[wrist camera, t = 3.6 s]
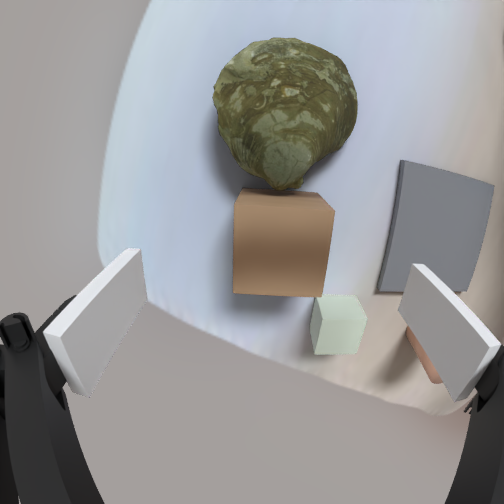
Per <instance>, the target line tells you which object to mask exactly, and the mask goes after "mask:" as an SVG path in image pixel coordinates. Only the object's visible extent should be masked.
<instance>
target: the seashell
mask: <svg viewBox="0 0 504 504" xmlns="http://www.w3.org/2000/svg"><path fill="white" fill-rule="evenodd" d="M214 90H215V91H214V93H213V97H212V98H213V101H214V105H215V107H216V109H217V112H218V124H219V126H218V129H219V133H220V135H221V137H222V138H223V140H224V141H225V142H226V144H227V145H228V147H229V148H230V151H231V153H232V155H233V157H234V158H235V160H236V161H237V163H238V164H239V166H240V167H241V168H242V169H243V170H245V171H246V172H247V173H249V174H252V175H255V176H257V177H260V178H263V179H264V180H265V181H266V182H267V183H268V184H269V185H270V186H271V187H272V188H274V189H275V190H278V191H279V190H285V189H287V188H295V189H298V188H300V187H301V185H302V184H303V175H304V174H305V173H306V172H307V171H308V169H309V168H310V167H311V166H312V165H313V164H314V163H315V162H318V161H319V160H321V159H322V158H323V157H325V156H326V155H328V154H329V153H332V152H334V151H336V150H339V149H340V148H341V147H342V145H343V144H344V143H345V141H346V140H347V139H348V137H349V136H350V135H351V133H352V131H353V129H354V126H355V123H356V118H357V93H356V90H355V87H354V84H353V81H352V79H351V77H350V75H349V73H348V70H347V68H346V65H345V64H344V63H343V61H342V60H341V59H340V58H338V57H337V56H335V55H333V54H332V53H329V52H328V51H326V50H324V49H322V48H320V47H317V46H315V45H312V44H310V43H306V42H303V41H301V40H298V39H296V38H271V39H270V40H264V41H259V42H253V43H251V44H250V45H248V46H247V47H246V48H244V49H243V50H242V51H240V52H239V53H238V54H236V55H235V56H234V57H233V58H232V59H231V60H230V61H229V62H228V63H227V64H226V65H225V67H224V68H223V69H222V71H221V73H220V75H219V78H218V80H217V82H216V84H215V85H214Z"/></svg>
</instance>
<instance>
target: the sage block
mask: <svg viewBox="0 0 504 504" xmlns="http://www.w3.org/2000/svg"><path fill="white" fill-rule="evenodd" d="M367 320H368V319H367V317H366V315H365V313H364V311H363V309H362V307H361V305H360V303H359V301H358V299H357V297H356V295H327V294H322V297H315V301H314V307H313V312H312V317H311V322H310V327H309V329H310V334H311V339H312V345H313V350H314V355H335V354H356V352H357V350H358V347H359V344H360V341H361V338H362V335H363V332H364V329H365V326H366V323H367Z"/></svg>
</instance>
